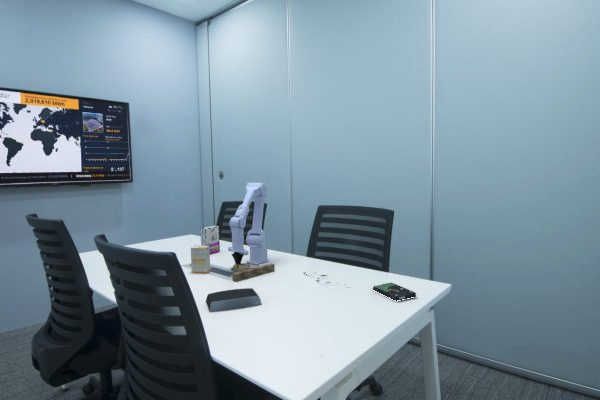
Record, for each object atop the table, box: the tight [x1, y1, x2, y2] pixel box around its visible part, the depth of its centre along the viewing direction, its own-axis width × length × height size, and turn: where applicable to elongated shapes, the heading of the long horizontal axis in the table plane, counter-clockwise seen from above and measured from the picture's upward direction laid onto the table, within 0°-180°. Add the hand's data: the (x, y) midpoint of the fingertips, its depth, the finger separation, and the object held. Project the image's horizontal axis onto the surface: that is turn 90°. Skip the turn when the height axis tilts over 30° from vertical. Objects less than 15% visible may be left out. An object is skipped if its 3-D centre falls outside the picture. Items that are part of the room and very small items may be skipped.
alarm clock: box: [230, 262, 261, 273], centre depth 178 cm, size 11×5×15 cm
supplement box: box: [190, 245, 211, 274], centre depth 179 cm, size 8×5×13 cm, turn 84°
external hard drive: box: [205, 287, 263, 313], centre depth 137 cm, size 13×19×4 cm
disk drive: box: [372, 282, 417, 301], centre depth 146 cm, size 10×3×15 cm
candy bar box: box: [200, 225, 221, 255], centre depth 220 cm, size 11×5×16 cm, turn 147°
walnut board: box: [231, 263, 276, 283], centre depth 173 cm, size 24×2×4 cm, turn 137°
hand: (238, 267), depth 182 cm, fingers closed, pressing on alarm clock
